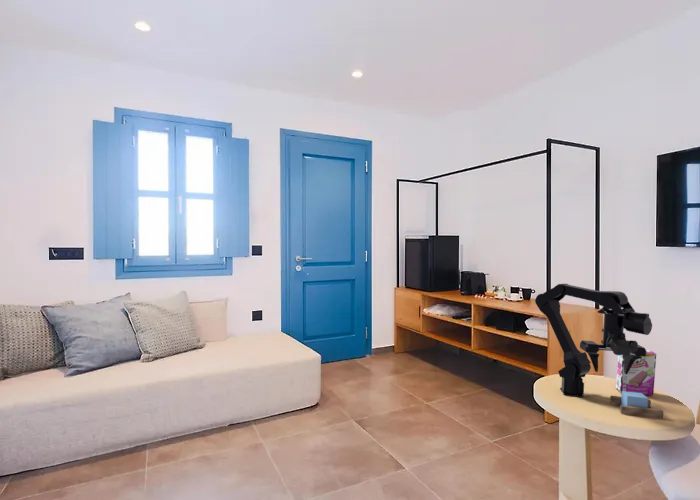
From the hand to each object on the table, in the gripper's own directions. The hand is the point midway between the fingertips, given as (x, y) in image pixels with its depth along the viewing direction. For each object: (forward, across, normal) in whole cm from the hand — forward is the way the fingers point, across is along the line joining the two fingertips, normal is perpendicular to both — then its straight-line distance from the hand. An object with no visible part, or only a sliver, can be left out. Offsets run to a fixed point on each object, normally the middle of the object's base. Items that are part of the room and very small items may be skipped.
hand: (610, 372), depth 137 cm
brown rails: (+12, +8, -1) cm, 14 cm away
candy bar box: (+12, +16, +17) cm, 26 cm away
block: (+12, +7, -1) cm, 14 cm away
